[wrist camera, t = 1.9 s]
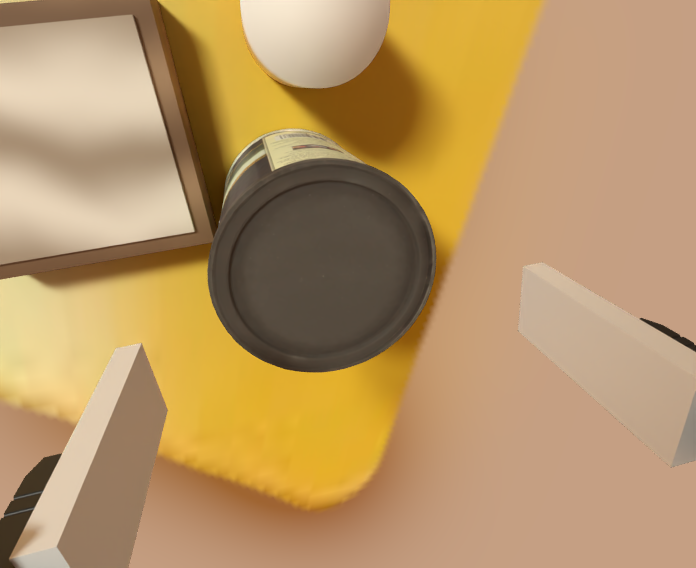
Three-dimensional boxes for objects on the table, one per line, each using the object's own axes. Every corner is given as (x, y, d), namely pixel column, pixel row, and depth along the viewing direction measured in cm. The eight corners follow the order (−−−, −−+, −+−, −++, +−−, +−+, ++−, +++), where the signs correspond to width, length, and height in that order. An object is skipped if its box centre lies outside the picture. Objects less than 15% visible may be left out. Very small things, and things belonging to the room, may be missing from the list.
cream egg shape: (229, -37, 25) (223, -87, 18) (346, -47, 26) (384, -97, 19) (254, 93, 28) (257, 96, 21) (358, 80, 29) (394, 79, 22)
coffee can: (262, 286, 33) (271, 405, 21) (196, 162, 29) (157, 222, 16) (381, 234, 34) (459, 322, 21) (335, 104, 29) (401, 117, 17)
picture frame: (-113, 25, 23) (-166, 17, 20) (157, 1, 25) (146, -11, 22) (9, 263, 29) (-18, 283, 26) (217, 228, 31) (214, 243, 28)
